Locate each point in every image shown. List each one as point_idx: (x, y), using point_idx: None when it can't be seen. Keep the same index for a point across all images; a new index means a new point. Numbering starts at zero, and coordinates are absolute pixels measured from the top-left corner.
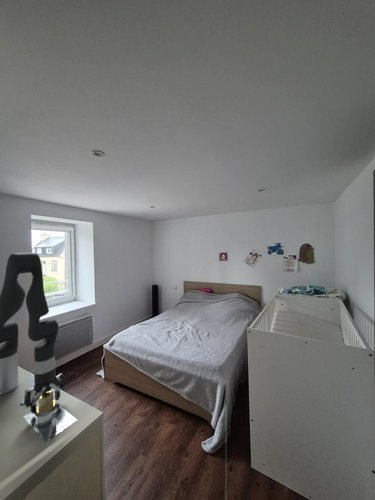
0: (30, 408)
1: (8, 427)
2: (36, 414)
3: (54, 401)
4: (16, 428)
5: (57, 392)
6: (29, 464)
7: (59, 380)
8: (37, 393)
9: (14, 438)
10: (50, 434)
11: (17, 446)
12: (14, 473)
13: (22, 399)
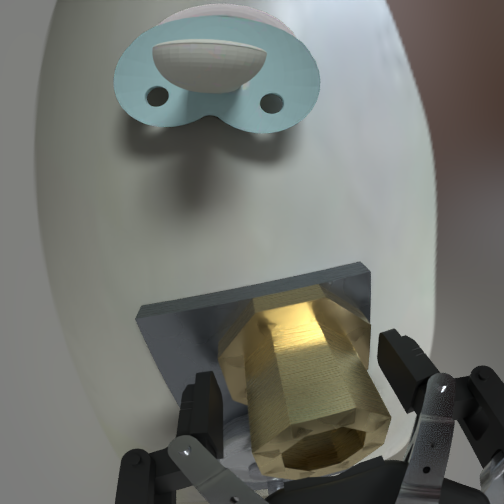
0: (179, 414)
1: (70, 307)
2: None
3: (363, 353)
4: (115, 353)
5: (409, 412)
6: (189, 492)
7: (496, 435)
8: (250, 492)
9: (122, 406)
10: (257, 482)
11: (144, 443)
12: None
13: (138, 40)
